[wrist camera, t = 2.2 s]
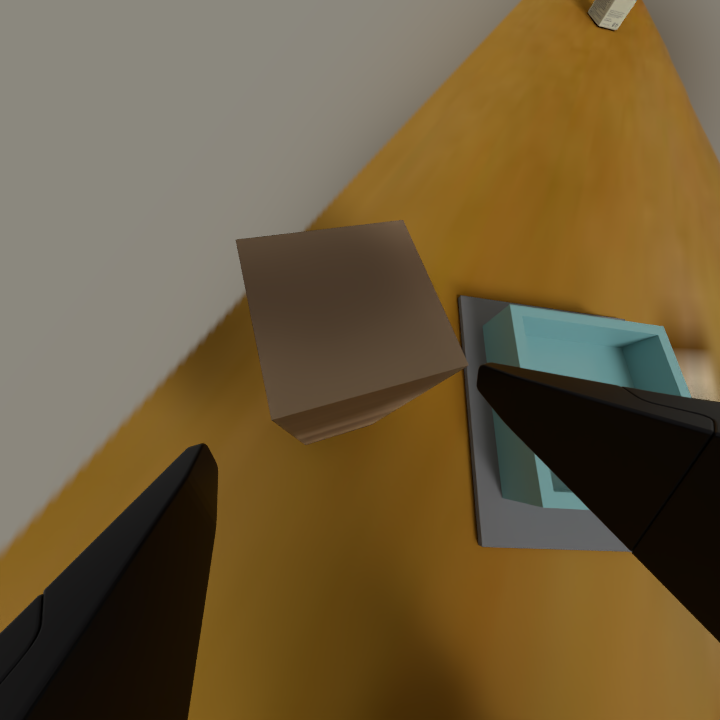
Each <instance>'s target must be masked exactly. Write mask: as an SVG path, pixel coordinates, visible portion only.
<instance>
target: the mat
mask: <svg viewBox="0 0 720 720" xmlns="http://www.w3.org/2000/svg"><path fill="white" fill-rule="evenodd" d="M458 302H459V314H460V326H461V338H462V350H463V353H464V355H465V358H466V360H467V362H468V364H469V365H468V366H467V367H465V368H464V374H465V386H466V398H467V411H468V423H469V435H470V447H471V459H472V471H473V483H474V495H475V507H476V520H477V532H478V544H479V545H480V546H482V547H504V548H535V549H566V550H597V551H628V552H632V551H630V550H629V549H628V548H627V547H626V546H625V545H624V544H623V543H622V542H621V541H620V540H619V539H618V538H617V537H616V536H615V535H614V534H613V533H612V532H611V531H610V530H609V529H608V528H607V527H606V526H605V525H604V524H603V523H602V522H601V521H600V520H599V519H598V518H597V517H596V516H595V515H594V514H593V513H592V512H591V511H590V510H580V509H560V508H543V507H538V506H534V505H530V504H526V503H521V502H517V501H513V500H508V499H504V498H502V489H501V481H500V472H499V463H498V455H497V446H496V438H495V429H494V421H493V412H492V407H491V406H490V405H489V403H488V402H487V401H486V400H485V399H484V397H483V396H482V395H481V394H480V392H479V391H478V389H477V385H476V384H477V375H478V368H479V366H480V365H482V364H486V363H487V360H486V352H485V343H484V335H483V325H484V324H486V323H487V322H488V321H489V320H491V319H492V318H493V317H494V316H496V315H497V314H498V313H499V312H501V311H502V310H503V309H504V308H506V307H507V306H508V305H509V304H511V305H518V306H525V307H532V308H539V309H546V310H553V311H560V312H567V313H573V314H580V315H587V316H594V317H601V318H608V319H615V320H622V321H625V319H618V318H612V317H605V316H598V315H591V314H584V313H577V312H570V311H564V310H557V309H550V308H543V307H536V306H529V305H522V304H516V303H509V302H502V301H495V300H488V299H481V298H475V297H468V296H461V295H460V297H459V298H458Z"/></svg>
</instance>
